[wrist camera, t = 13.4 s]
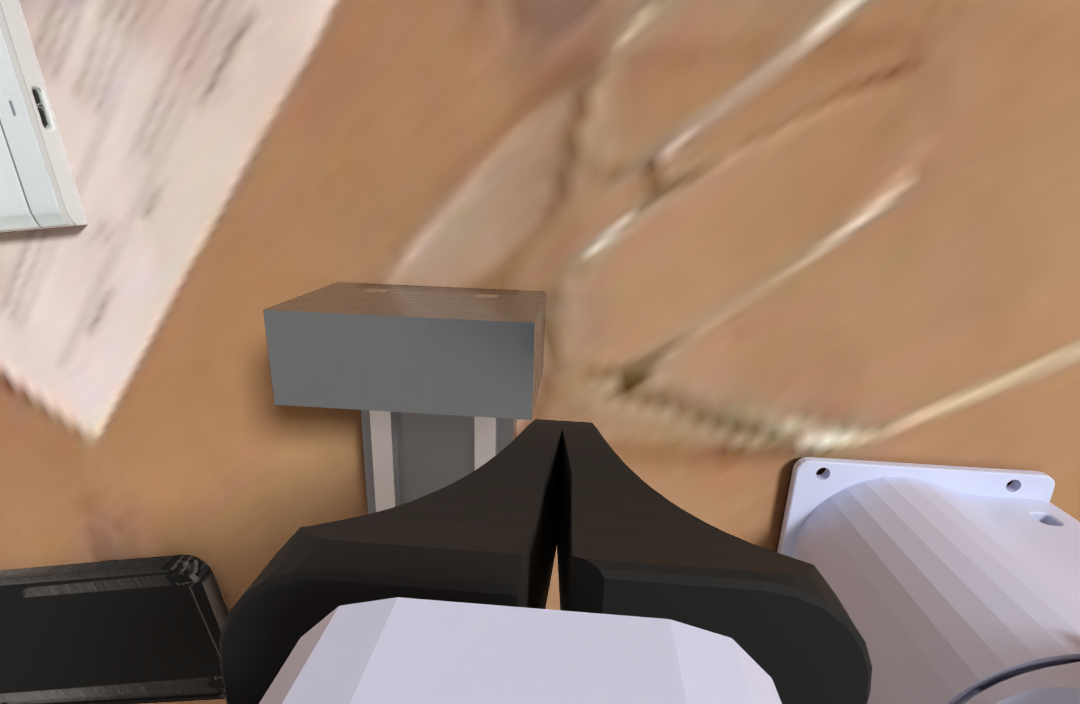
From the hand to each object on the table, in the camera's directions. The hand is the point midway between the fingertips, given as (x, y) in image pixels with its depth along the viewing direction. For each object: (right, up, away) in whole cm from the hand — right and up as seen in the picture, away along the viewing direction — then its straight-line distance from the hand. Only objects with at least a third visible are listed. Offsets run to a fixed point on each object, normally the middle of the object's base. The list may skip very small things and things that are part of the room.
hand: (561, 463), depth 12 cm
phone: (-23, -11, +16) cm, 30 cm away
